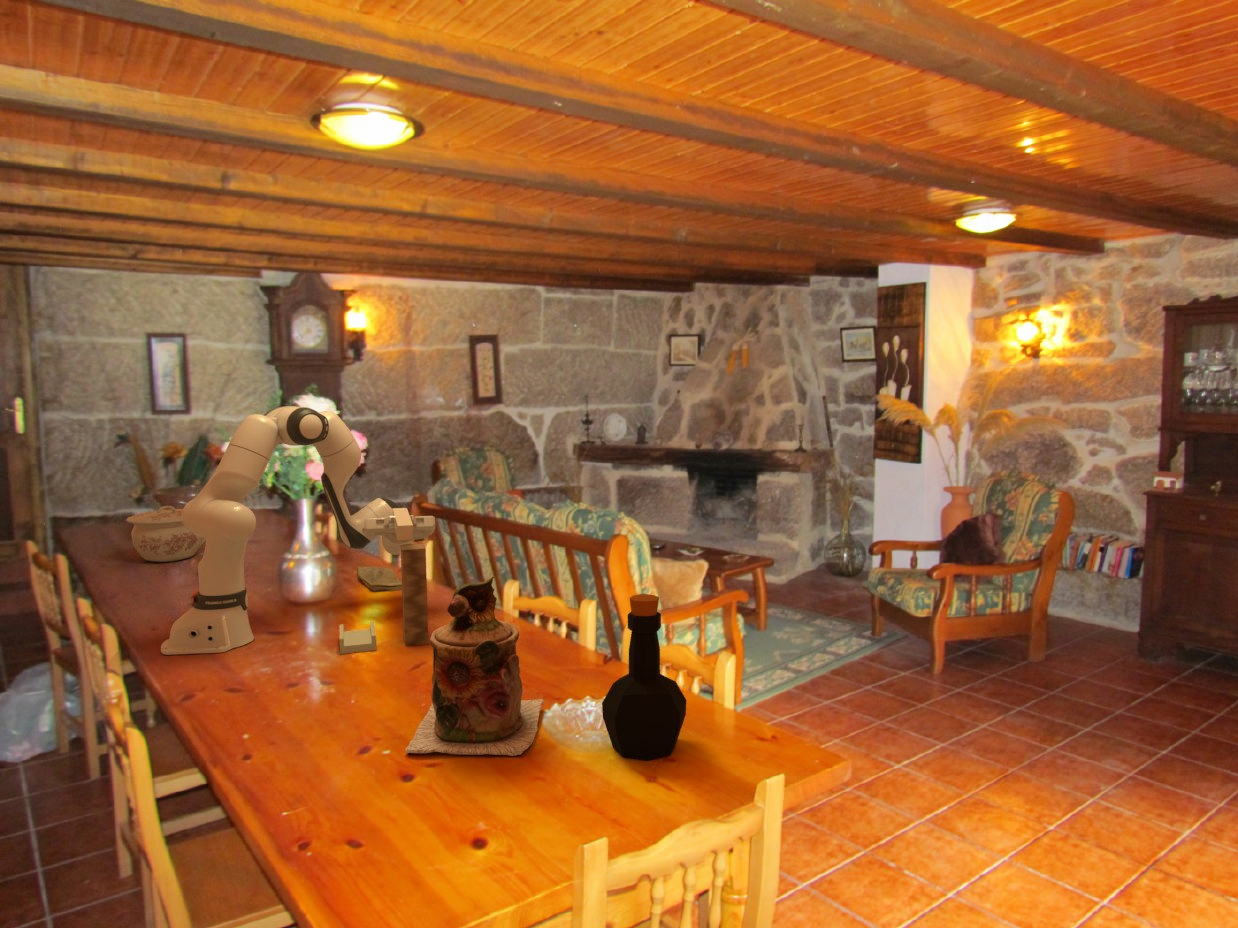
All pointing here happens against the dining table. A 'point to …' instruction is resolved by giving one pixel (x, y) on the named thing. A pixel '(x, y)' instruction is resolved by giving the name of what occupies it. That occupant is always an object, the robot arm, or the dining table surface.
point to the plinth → (414, 594)
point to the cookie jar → (476, 683)
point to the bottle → (644, 692)
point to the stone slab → (379, 578)
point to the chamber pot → (163, 536)
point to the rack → (357, 640)
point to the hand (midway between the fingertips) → (401, 518)
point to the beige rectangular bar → (402, 524)
